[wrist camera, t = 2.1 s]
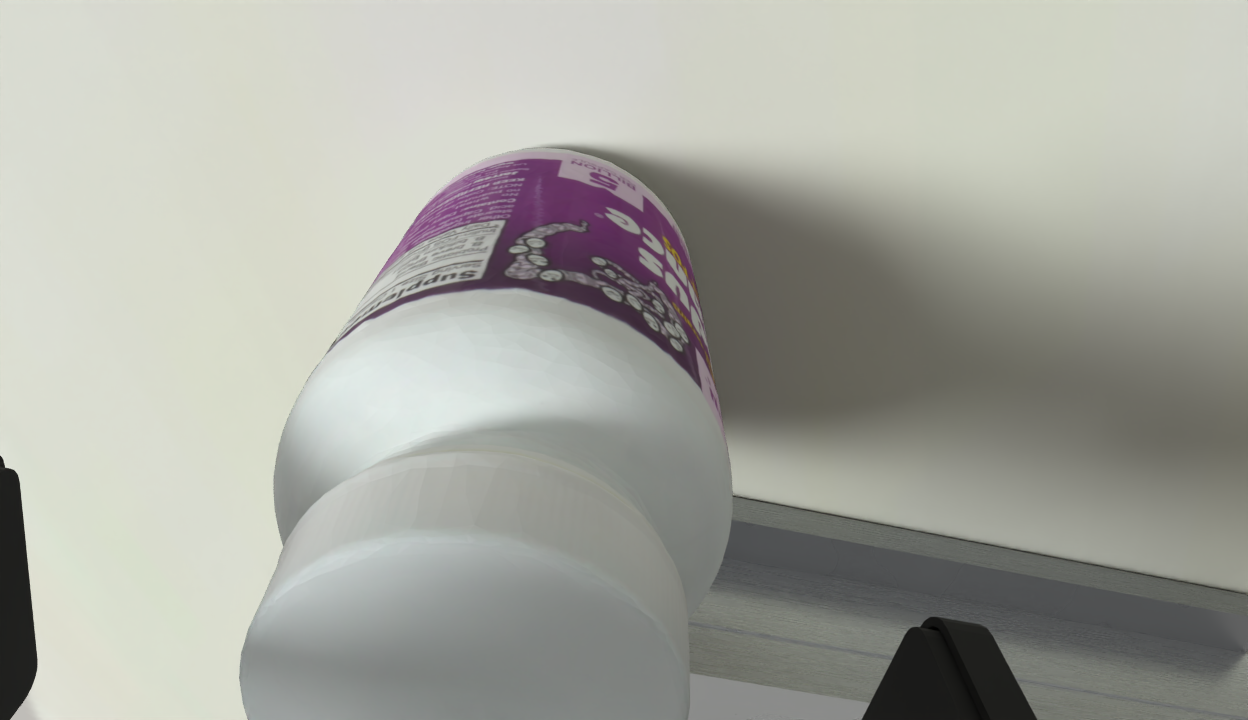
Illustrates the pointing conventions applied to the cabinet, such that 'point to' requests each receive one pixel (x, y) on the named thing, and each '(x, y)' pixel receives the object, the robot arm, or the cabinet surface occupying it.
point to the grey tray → (959, 590)
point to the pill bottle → (502, 468)
